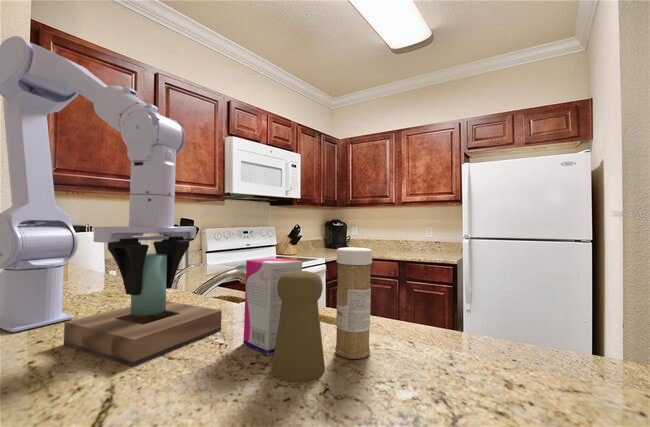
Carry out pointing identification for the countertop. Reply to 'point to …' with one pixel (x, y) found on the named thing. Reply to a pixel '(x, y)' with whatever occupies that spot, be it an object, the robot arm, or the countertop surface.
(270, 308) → the supplement box
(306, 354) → the brown tall rounded piece
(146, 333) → the socket block
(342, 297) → the sprinkles bottle
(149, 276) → the peg
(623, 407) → the countertop surface
